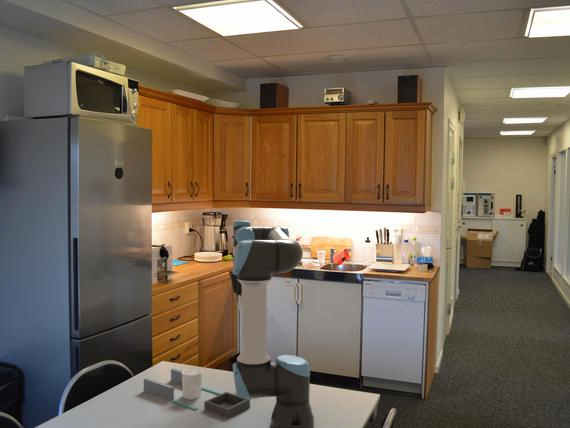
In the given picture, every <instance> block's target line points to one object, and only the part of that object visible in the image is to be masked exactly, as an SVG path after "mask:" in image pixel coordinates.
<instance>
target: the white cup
mask: <svg viewBox="0 0 570 428" xmlns="http://www.w3.org/2000/svg"><path fill="white" fill-rule="evenodd" d="M181 371H182V384H181V385H182V397H183V398H184V399H185V400H198V399H199V398H200V397H201V391H202V389H201V388H202V383H203V381H202V380H203V377H202V376H203V370H202V369H200V368H196V367H195V368H194V367H193V368H192V367H191V368H186V369H183V370H181Z"/></svg>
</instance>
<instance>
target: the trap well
mask: <svg viewBox="0 0 570 428" xmlns="http://www.w3.org/2000/svg"><path fill="white" fill-rule="evenodd" d="M221 393H222V392H221ZM203 403H204V404H203V405H204V407H203V408H204V410H205V411H207V412H211V413H213V414H216V415H219V416H222V417H224V418H228V419H230V418H231V417H233V416H235V415H237V414H239V413H241V412H243V411H244V410H247V409H249V408H250V407H251V399H250V398H240V397H238V395H237V394H235V393H231V392H228V391H225V392H223V393H222V394H220V395H218V394H217V395H215V396H213V397H211V398H210V399H207V400H205V401H204V402H203Z"/></svg>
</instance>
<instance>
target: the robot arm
mask: <svg viewBox="0 0 570 428" xmlns="http://www.w3.org/2000/svg"><path fill="white" fill-rule="evenodd" d="M251 225H252V224H251V221H250V220H244V219H243V220H240V219H238V220H237V219H236V220H234V221H233V225H232V231H233V232H232V234H233V237H232V239H233V242H232V243H233V244H232V245H233V246H232V255H233V257H232V264H233V267H232V269H231V270H229V271H228V273H229V276H230V280H231V286H232V291H233V293H234V294H236V302H237V304H238V305H237V310H238V311H241V350H240V351H241V352H240V353H239V355H238V356H237V357H236V362H234V363H233V364H232V372H233V380H234V386H235V387H234V388H235V392H236V395H238V397H240V398H248V399H250V400H251V399H257V398H260V399H261V398H273V397H276V398H275V403H274V404H275V405H274V408H273V410H272V414H271V416H270V425H271V427H272V428H314V426H315V416H314V414H313V411H312V407H311V404H310V389H311V388H310V382H311V381H310V379H311V378H310V377H311V372H310V371H311V369H310V364H309V362H308V361H307V360H306V359H305V358H303V357H299V356H298V355H293V354H292V355H290V354H283V355H278V356H277V357H276V359H275V360H274V361H272V360H271V358H272V357H271V356H270V354H268V353H267V318H268V317H267V314H268V313H267V311H268V310H267V305H268V304H267V296H268V295H267V294H268V291H267V289H268V286H267V285H268V284H269V282H270V281H272V275H277V274H285V273H289V272H290V271H292V270H294V269H296V268H297V267H298V266H299V265H300V263H301V261H302V260H303V256H304V255H303V254H304V253H303V248H302V246H301V245H300V243H299V242H298V241H297V240H295V239H293V238H290V232H289V231H290V230H289V228H288V227H287V226H251Z"/></svg>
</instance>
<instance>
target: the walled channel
mask: <svg viewBox="0 0 570 428" xmlns="http://www.w3.org/2000/svg"><path fill="white" fill-rule="evenodd" d="M182 371H183V370H180V369H177V368H175V367H174V368H171V369H170V382H173V383H175V384H176V383H177V384H179V385H182ZM143 392H144V393H148V394H151V395H152V396H153V395H154V396H157V397H159V398H162V399H165V400H168V401H171V402H172V400H175V399H174V398H175V396H174V394H175V387H174V386H172V385H169V384H167V383H163V382H162V381H161V382H160V381H157V380H155V379H151V378H149V377H145V378H143Z"/></svg>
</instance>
